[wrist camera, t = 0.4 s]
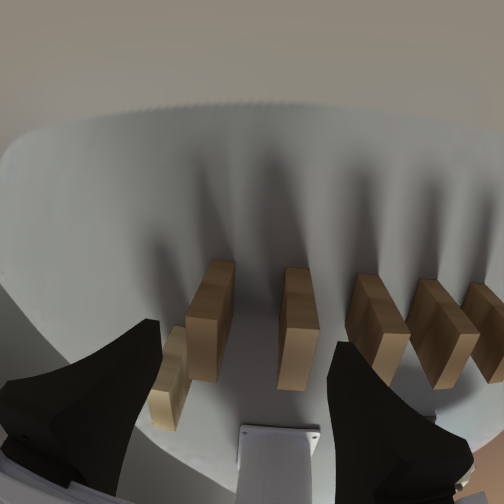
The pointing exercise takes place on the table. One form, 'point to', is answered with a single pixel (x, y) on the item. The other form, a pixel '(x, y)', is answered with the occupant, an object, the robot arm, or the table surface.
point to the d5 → (210, 321)
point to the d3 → (376, 326)
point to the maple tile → (170, 382)
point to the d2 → (440, 334)
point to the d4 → (297, 330)
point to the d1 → (487, 330)
